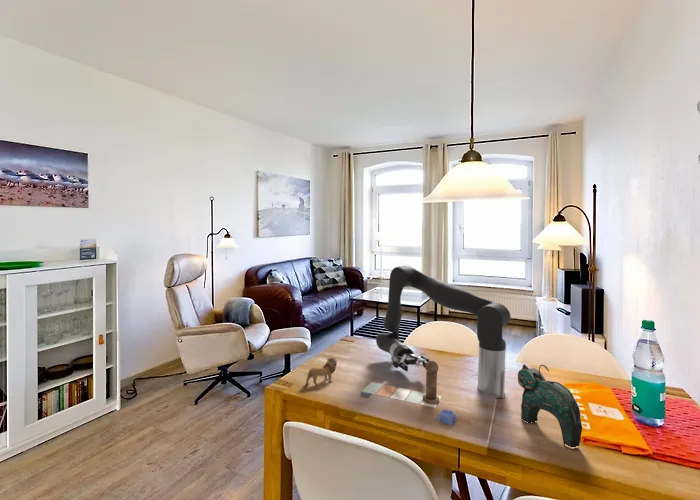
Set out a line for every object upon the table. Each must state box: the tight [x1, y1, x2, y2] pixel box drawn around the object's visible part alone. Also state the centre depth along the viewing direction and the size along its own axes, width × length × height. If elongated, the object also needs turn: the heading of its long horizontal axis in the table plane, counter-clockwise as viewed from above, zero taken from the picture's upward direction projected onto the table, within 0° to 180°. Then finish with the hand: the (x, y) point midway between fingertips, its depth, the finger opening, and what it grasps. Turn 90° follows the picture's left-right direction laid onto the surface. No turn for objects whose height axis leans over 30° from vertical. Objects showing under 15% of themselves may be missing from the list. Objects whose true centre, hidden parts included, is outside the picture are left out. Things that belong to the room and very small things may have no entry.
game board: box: [360, 381, 442, 409], centre depth 132 cm, size 27×10×1 cm, turn 64°
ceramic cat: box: [517, 364, 583, 447], centre depth 111 cm, size 20×6×20 cm, turn 21°
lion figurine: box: [304, 356, 338, 387], centre depth 144 cm, size 15×5×9 cm, turn 131°
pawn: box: [422, 360, 440, 405], centre depth 127 cm, size 6×6×14 cm
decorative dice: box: [438, 409, 457, 426], centre depth 114 cm, size 4×4×4 cm
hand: (417, 368), depth 138 cm, fingers open, 8 cm apart
